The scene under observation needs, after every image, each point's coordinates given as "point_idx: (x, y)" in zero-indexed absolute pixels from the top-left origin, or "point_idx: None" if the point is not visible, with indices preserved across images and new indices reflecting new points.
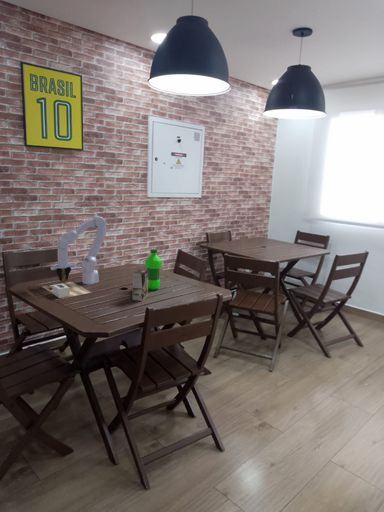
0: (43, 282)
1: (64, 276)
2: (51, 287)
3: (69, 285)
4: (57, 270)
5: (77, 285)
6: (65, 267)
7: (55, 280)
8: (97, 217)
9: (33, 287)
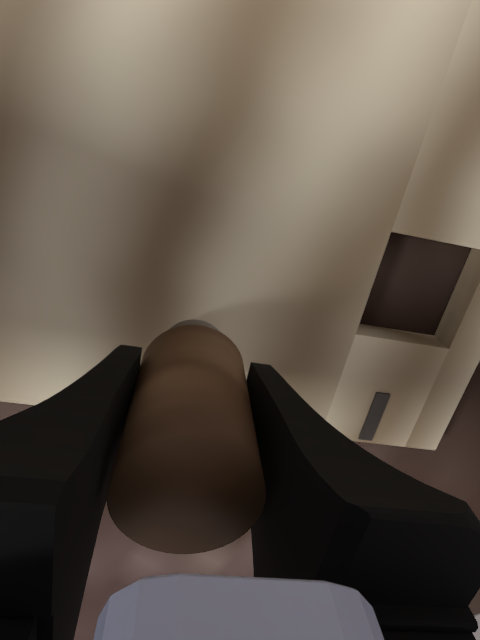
0: None
1: (199, 387)
2: (391, 349)
3: (129, 256)
4: (474, 591)
5: (2, 150)
6: (288, 605)
7: (119, 582)
8: None
9: None
